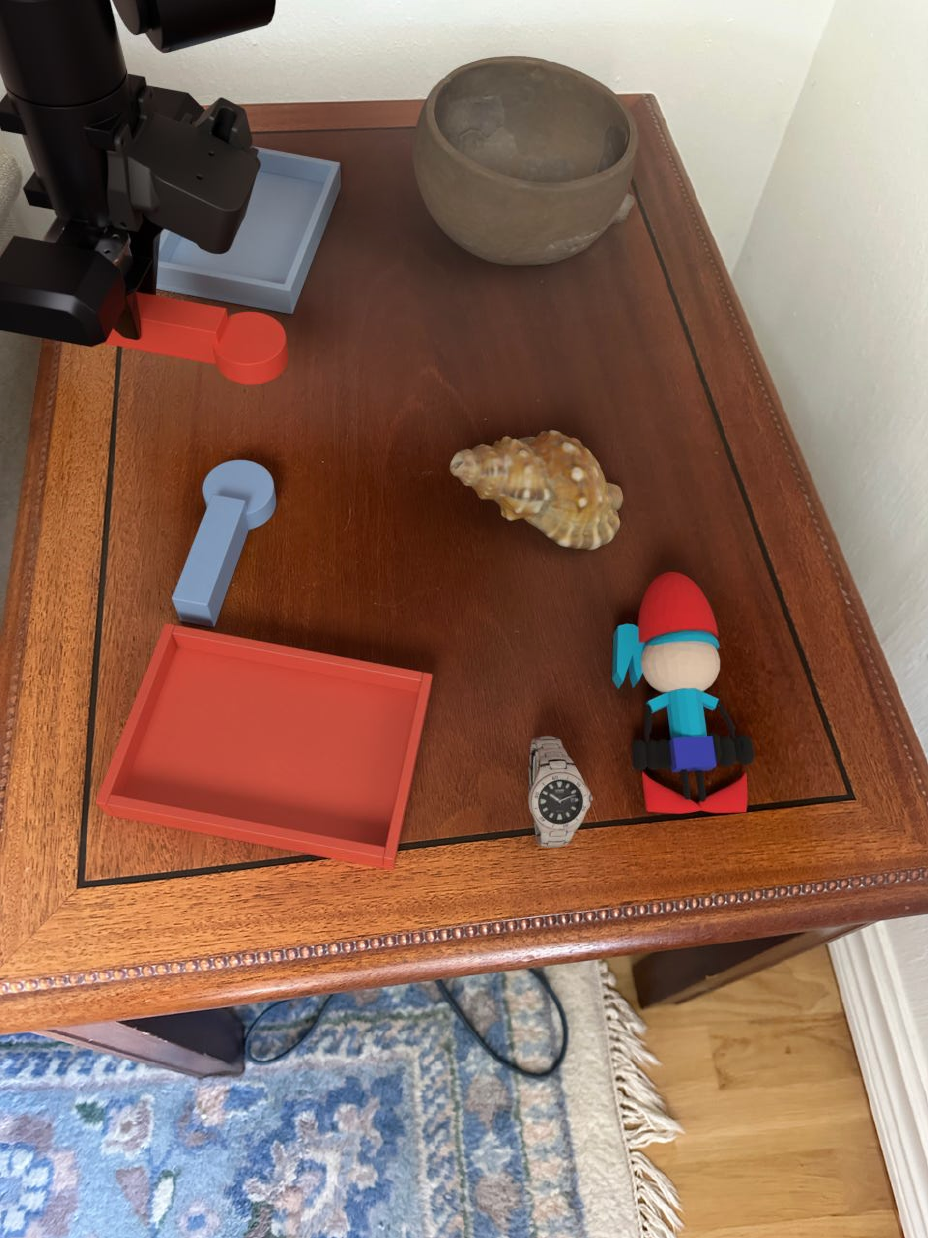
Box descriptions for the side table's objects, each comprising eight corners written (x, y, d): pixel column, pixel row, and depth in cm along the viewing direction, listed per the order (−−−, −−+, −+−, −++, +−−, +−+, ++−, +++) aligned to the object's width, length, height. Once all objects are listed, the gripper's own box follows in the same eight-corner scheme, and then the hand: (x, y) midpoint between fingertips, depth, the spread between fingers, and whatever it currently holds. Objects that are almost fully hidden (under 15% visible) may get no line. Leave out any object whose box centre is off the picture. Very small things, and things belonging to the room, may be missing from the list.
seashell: (524, 598, 63) (464, 517, 55) (493, 517, 68) (434, 432, 60) (645, 537, 61) (602, 445, 53) (604, 458, 66) (559, 363, 58)
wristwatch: (522, 856, 51) (535, 830, 46) (511, 752, 54) (523, 719, 49) (583, 853, 51) (602, 827, 47) (569, 750, 54) (586, 717, 50)
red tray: (106, 815, 50) (94, 802, 48) (172, 640, 55) (165, 622, 53) (393, 870, 50) (394, 860, 48) (430, 690, 55) (433, 673, 53)
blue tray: (292, 314, 70) (289, 290, 68) (151, 287, 70) (144, 263, 68) (341, 186, 78) (340, 162, 76) (214, 163, 78) (210, 137, 76)
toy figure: (749, 815, 55) (714, 585, 60) (777, 804, 50) (736, 556, 55) (625, 821, 54) (600, 590, 59) (641, 811, 50) (613, 561, 55)
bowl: (654, 234, 79) (689, 123, 70) (520, 330, 71) (540, 220, 63) (508, 139, 83) (524, 24, 75) (368, 220, 76) (368, 103, 68)
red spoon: (92, 356, 57) (79, 322, 54) (118, 306, 59) (107, 271, 57) (277, 390, 57) (273, 358, 54) (296, 339, 59) (293, 306, 57)
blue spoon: (233, 631, 56) (226, 609, 54) (160, 617, 56) (151, 594, 54) (284, 483, 62) (280, 456, 60) (218, 470, 62) (212, 444, 60)
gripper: (165, 225, 39) (219, 460, 52) (281, 2, 48) (302, 251, 61) (-89, 178, 39) (31, 425, 52) (76, -35, 48) (142, 221, 61)
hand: (139, 323), depth 57 cm, fingers closed on red spoon, 2 cm apart
